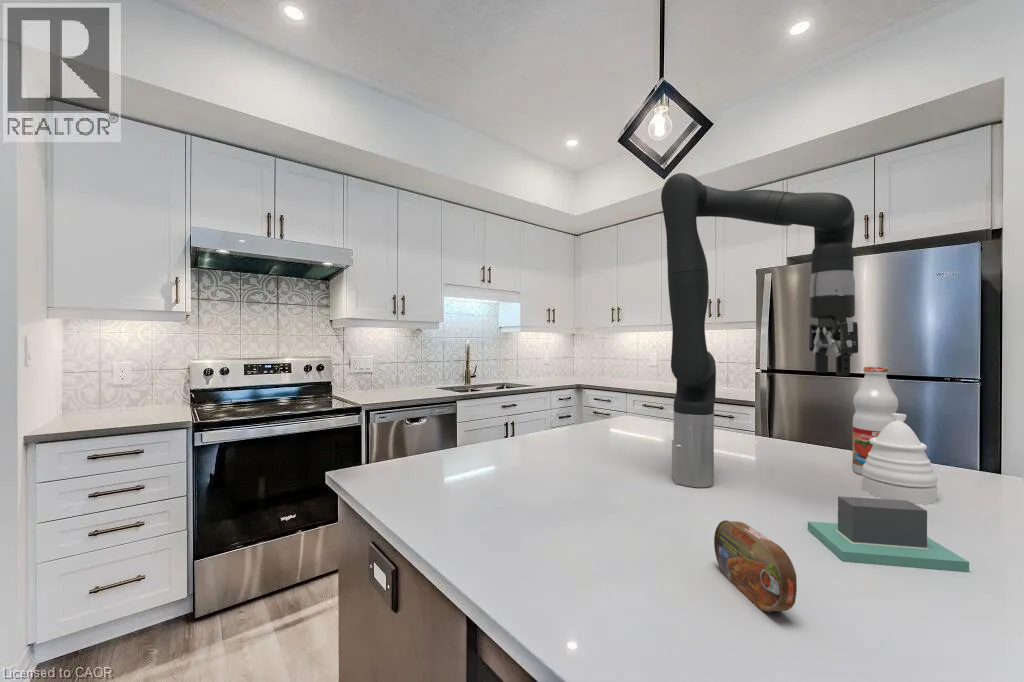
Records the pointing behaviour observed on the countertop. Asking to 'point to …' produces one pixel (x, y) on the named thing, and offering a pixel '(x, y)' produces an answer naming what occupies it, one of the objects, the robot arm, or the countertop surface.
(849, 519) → the block
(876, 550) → the header board
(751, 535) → the tin
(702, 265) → the robot arm
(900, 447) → the honey pot
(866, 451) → the fruit juice
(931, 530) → the countertop surface
